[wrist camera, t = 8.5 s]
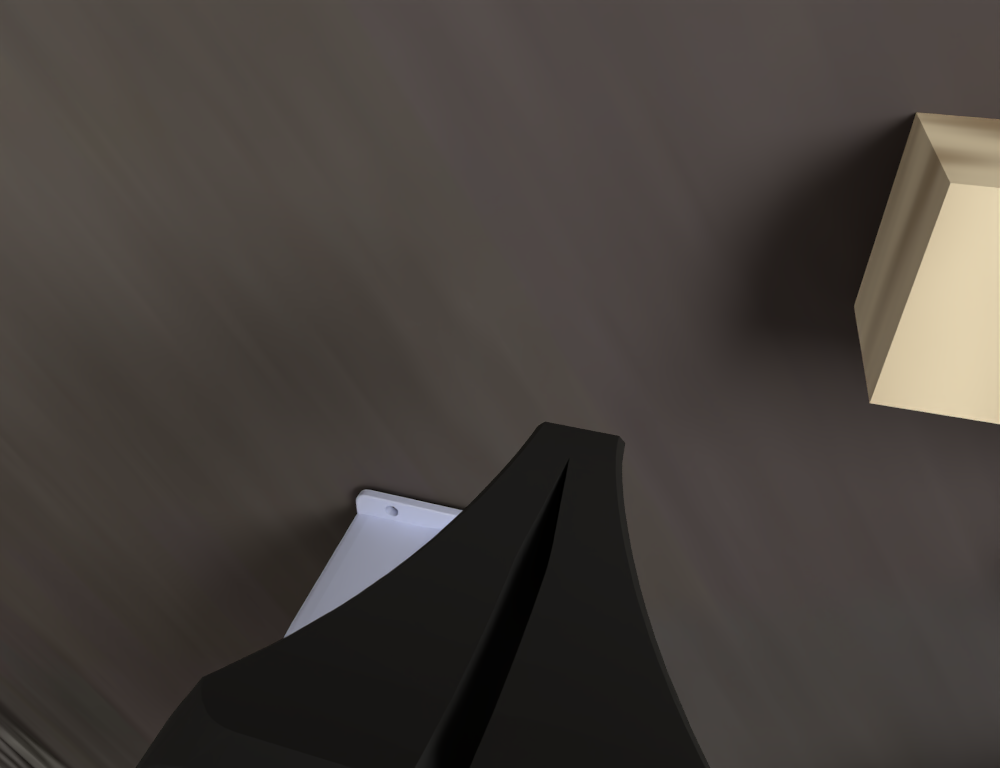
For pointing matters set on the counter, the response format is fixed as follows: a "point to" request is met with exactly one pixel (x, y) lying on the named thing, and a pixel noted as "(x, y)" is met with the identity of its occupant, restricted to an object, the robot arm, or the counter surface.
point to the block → (937, 275)
